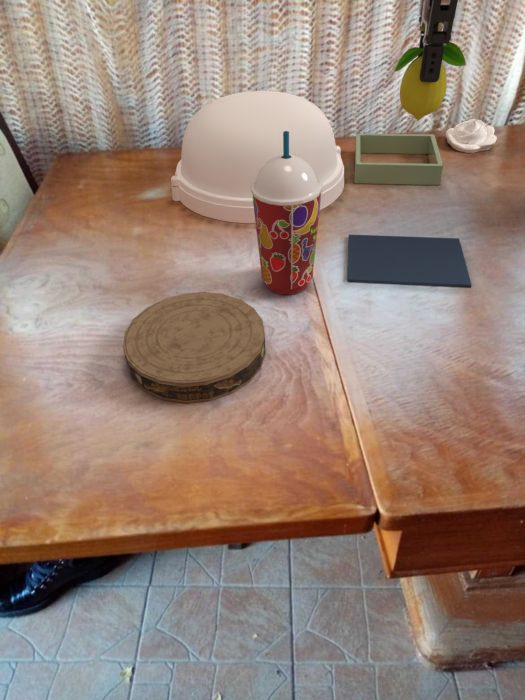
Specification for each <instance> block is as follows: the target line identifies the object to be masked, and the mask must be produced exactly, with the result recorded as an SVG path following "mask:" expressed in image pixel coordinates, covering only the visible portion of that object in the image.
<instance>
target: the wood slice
mask: <svg viewBox="0 0 525 700" xmlns="http://www.w3.org/2000/svg"><path fill="white" fill-rule="evenodd" d="M264 326H265V325H264V321H263V319H262V317H261V316H260V314H259V313H258V311H257V310H256V309H255V307H253V306H251V305H250V304H249V303H247V302H245V301H244V300H243V299H240V298H239V297H238V298H237V297H234V296H233V295H232V296H231V295H228V294H225V293H219V292H209V291H199V292H187V293H182V294H177V295H174V296H170V297H166V298H163V299H161V300H159V301H157V302H154V303H153V304H151V305H148V306H147V307H146V308H144V309H143V310H142V311H140V313H138V314H137V315H136V316H135V317H133V319H132V320H131V322H130V323H129V324H128V326H127V327H126V329H125V331H124V335H123V341H122V350H123V353H124V357H125V360H126V364H127V368H128V370H129V373H130V376H131V379H132V381H133V382H134V383H135V384H136V385H137V386H138V387H139V388H141V390H142V391H143V392H145V393H146V394H149V395H150V396H153V397H155V398H158V399H160V400H163V401H166V402H167V401H168V402H172V403H181V404H193V403H203V402H211V401H215V400H217V399H220V398H223V397H227V396H229V395H232V394H233V393H235V392H237V391H238V390H240V389H241V388H243V387H244V386H246V385H247V384H249V383H250V382H251V381H252V380H253V378H254V377H256V376H257V374H258V372H260V370H261V369H262V366H263V364H264V360H265V357H266V333H265V327H264Z"/></svg>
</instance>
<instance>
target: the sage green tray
mask: <svg viewBox="0 0 525 700" xmlns="http://www.w3.org/2000/svg"><path fill="white" fill-rule="evenodd" d="M354 143H355V144H354V170H353V172H354V175H353V183H354V184H365V185H366V184H367V185H368V184H371V185H372V184H374V185H411V186H412V185H413V186H415V185H416V186H440V185H441V179H442V175H443V170H444V169H443V168H444V164H443V161H442V157H441V154H440V150H439V147H438V143H437V139H436V135H435V134H433V133H432V134H430V133H429V134H427V133H423V134H422V133H421V134H420V133H355V142H354ZM361 154H394V155H396V154H397V155H398V154H399V155H400V154H401V155H427V158H428V162H429V163H410V162H409V163H408V162H406V163H405V162H402V163H401V162H362V161H361Z"/></svg>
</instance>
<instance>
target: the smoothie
mask: <svg viewBox="0 0 525 700" xmlns="http://www.w3.org/2000/svg"><path fill="white" fill-rule="evenodd" d="M251 192H252V194H253V205H254V214H255V222H256V223H255V231H256V237H257V238H256V239H257V240H256V241H257V248H258V256H259V263H260V270H261V271H260V273H261V278H262V280H263V282H264V283H265V284H266V287H267V289H269V290H270V291H272V292H273V293H276V294H279V295H294V294H298V293H301V292H303V291H304V290H305V289H307V288H308V285H309V283H310V282H311V280H312V278H313V276H314V269H315V268H314V267H315V260H316V259H315V258H316V249H317V238H318V228H319V220H320V219H319V218H320V211H321V210H320V200H321V192H322V183H321V182H320V181H319V180H318V177H317V175H316V173H315V171H314V169H313V168H312V167H311V165H310V164H309V163H308V162H307V161H306V160H304V159H302V158H301V157H298V156H295V155H291V154H289V131H284V132H283V155H279V156H276V157H273V158H272V159H270V160H268V161H267V162H266V163H265V164H264V165H263V166H262V168H261V169H260V170H259V172H258V174H257V176H256V179H255V181H254V182H253V184H252V186H251Z"/></svg>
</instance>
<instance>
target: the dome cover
mask: <svg viewBox="0 0 525 700" xmlns="http://www.w3.org/2000/svg"><path fill="white" fill-rule="evenodd" d="M284 131H289V154H291V155H295V156H298V157H301V158H302V159H304V160H306V161H307V162H308V163H309V164H310V165H311V167H312V168H313V169H314V171H315V173H316V175H317V177H318V180H319V181H320V182H321V183H322V192H321V200H320V210H319V211H321V210H323V209H325V208H327V207H329V206H330V205H332V204H333V203H335V201H337V200H338V198H339V197H340V196H341V195H342V193H343V191H344V189H345V165H344V163H343V159H342V154H341V150H342V148H341V147H340V146H339V145H337V144H336V139H335V135H334V132H333V128H332V126H331V122H330V121H329V119H328V117H327V116H326V114H325V113H324V111H322V110H321V108H319V107H318V106H317V105H316V104H315V103H313V102H312V101H310V100H308V99H306V98H303V97H302V96H299V95H295V94H292V93H288V92H283V91H275V90H250V91H249V90H248V91H242V92H236V93H232V94H228V95H224V96H222V97H218V98H216V99H214V100H212V101H210V102H208V103H206V104H205V105H204V106H202V107H200V108H199V109H198V110H197V111H196V112H195V113H194V115H192V117H191V119H190V120H189V122H188V123H187V125H186V128H185V130H184V133H183V138H182V143H181V153H180V154H181V155H180V156H181V157H180V160H179V161H178V162H177V165H176V168H175V173H174V174H175V175H172V176H171V177H170V184H171V186H170V187H171V197H172V201H174V202H180V203H181V204H182V205H183V206H184V207H186V208H187V209H188V210H190V211H192V212H194V213H196V214H198V215H200V216H203V217H205V218H210V219H213V220H216V221H222V222H228V223H236V224H256V222H255V214H254V205H253V194H252V192H251V186H252V184H253V182H254V181H255V179H256V176H257V174H258V172H259V170H260V169H261V168H262V166H263V165H264V164H265V163H266V162H267V161H268V160H270V159H272V158H273V157H276V156H279V155H283V132H284Z"/></svg>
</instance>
